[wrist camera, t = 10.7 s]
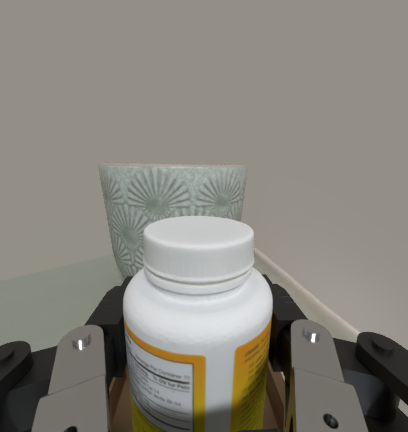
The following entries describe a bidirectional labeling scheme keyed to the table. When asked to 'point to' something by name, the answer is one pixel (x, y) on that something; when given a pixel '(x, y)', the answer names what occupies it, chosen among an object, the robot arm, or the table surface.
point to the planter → (164, 200)
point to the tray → (271, 414)
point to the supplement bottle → (197, 328)
